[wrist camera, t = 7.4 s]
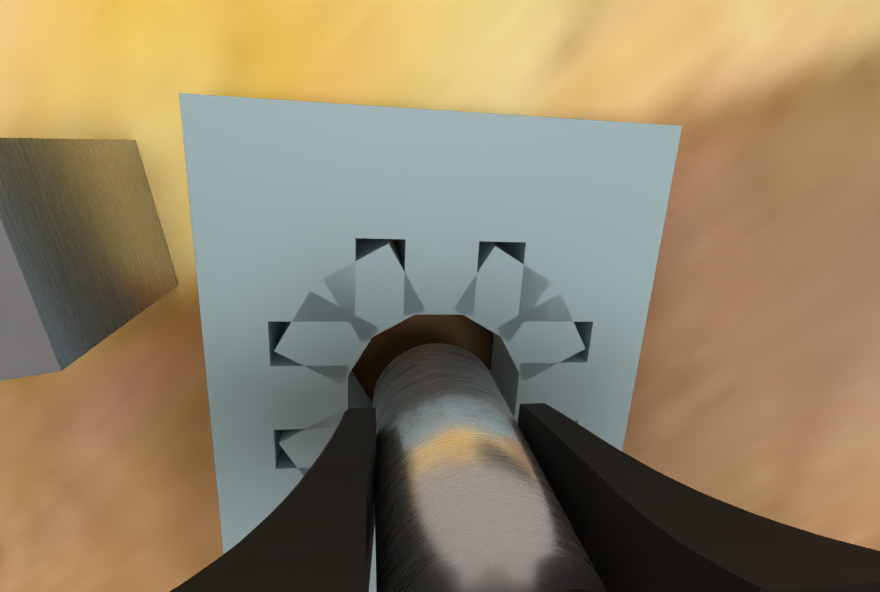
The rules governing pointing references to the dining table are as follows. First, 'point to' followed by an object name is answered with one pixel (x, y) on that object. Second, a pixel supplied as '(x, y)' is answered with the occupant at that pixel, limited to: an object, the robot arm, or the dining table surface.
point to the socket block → (409, 264)
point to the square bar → (73, 249)
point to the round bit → (463, 487)
